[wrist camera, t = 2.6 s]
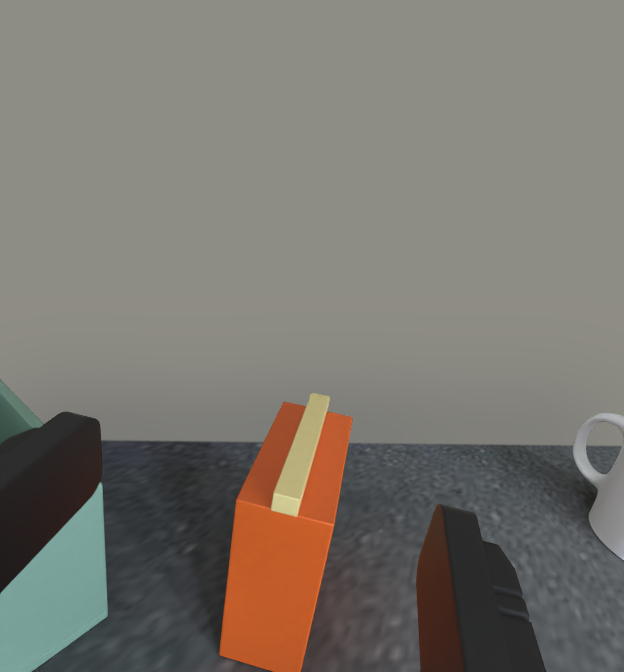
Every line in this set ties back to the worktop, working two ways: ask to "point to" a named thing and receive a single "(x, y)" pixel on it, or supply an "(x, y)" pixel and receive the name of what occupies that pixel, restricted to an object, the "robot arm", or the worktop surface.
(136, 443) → the worktop surface
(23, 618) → the bin
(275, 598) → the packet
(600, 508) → the mug
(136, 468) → the worktop surface
